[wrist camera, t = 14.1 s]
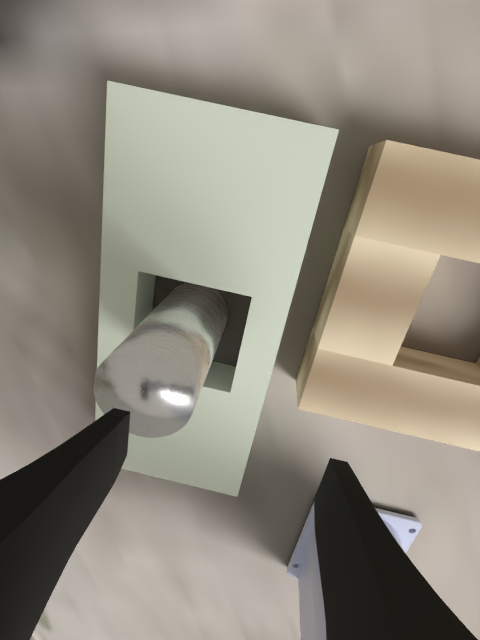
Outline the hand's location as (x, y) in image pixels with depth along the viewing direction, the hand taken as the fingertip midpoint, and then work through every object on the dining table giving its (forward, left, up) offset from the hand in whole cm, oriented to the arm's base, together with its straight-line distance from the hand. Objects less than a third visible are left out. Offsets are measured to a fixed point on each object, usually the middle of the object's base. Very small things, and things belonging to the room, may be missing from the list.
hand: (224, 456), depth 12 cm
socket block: (+5, -11, -10) cm, 15 cm away
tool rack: (+1, +3, -10) cm, 11 cm away
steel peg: (+1, +4, -10) cm, 11 cm away
